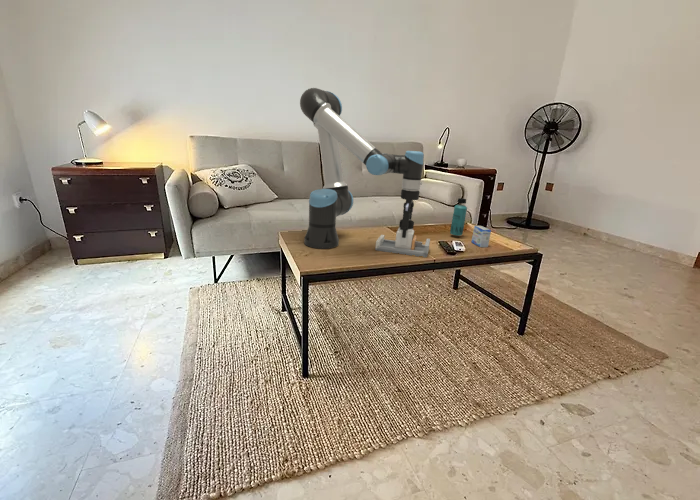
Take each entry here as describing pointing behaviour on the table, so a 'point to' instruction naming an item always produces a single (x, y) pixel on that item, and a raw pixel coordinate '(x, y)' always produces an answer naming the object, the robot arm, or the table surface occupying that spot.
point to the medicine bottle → (409, 237)
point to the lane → (390, 247)
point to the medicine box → (481, 236)
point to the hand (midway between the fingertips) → (404, 242)
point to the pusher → (415, 242)
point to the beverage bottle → (458, 218)
